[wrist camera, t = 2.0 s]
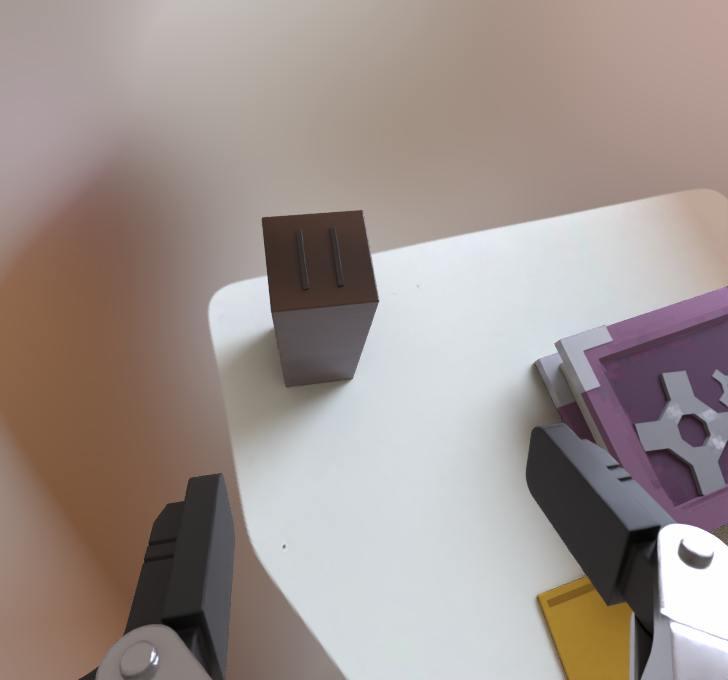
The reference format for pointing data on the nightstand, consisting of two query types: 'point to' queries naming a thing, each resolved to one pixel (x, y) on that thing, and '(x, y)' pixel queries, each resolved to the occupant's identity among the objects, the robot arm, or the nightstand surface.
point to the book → (655, 401)
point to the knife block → (320, 293)
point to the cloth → (588, 631)
